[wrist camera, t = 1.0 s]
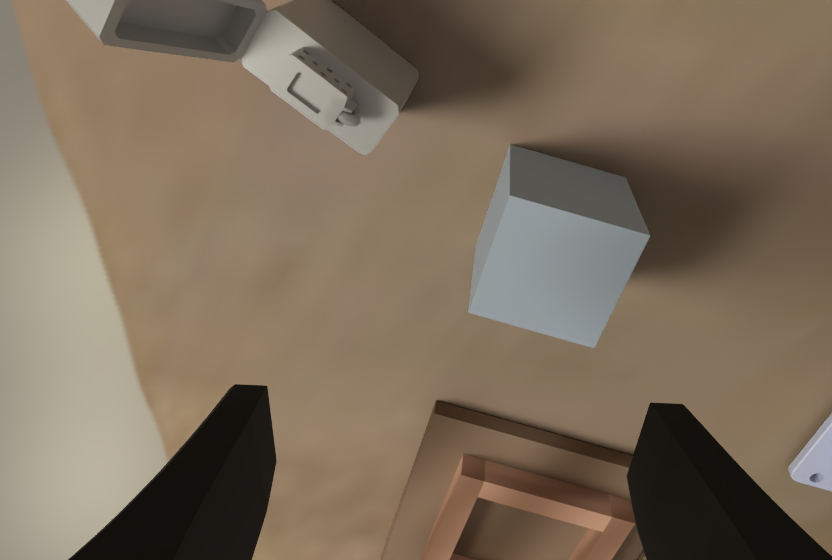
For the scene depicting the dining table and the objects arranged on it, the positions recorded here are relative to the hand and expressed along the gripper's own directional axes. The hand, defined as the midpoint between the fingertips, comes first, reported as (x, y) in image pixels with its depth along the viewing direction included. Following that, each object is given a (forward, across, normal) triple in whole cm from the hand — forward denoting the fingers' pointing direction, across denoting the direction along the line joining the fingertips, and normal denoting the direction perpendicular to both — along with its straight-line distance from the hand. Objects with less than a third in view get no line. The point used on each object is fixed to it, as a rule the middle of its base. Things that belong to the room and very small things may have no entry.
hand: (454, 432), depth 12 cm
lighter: (+13, +4, -5) cm, 14 cm away
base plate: (+10, -4, +16) cm, 20 cm away
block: (+11, -4, +1) cm, 12 cm away
